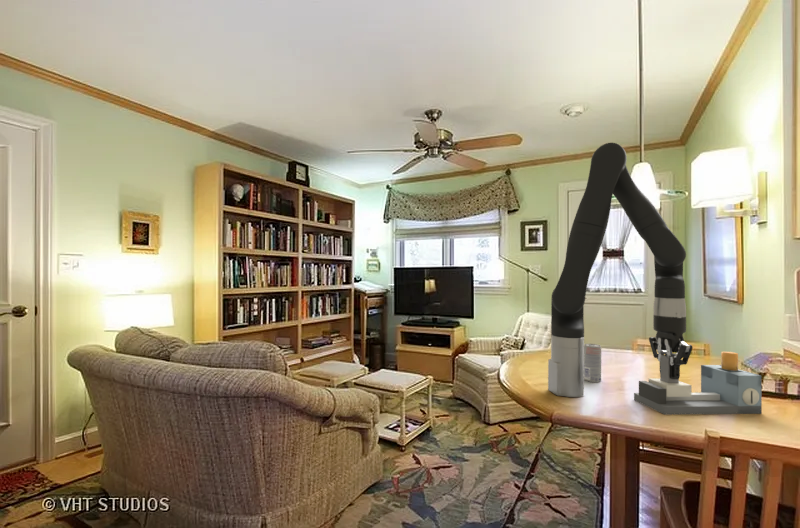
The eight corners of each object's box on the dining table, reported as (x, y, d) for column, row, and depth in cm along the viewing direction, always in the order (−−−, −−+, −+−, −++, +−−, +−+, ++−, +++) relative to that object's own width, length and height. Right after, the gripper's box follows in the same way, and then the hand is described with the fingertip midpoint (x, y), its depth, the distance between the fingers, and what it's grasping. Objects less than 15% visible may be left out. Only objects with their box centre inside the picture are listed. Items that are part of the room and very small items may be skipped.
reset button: (729, 370, 110) (729, 354, 110) (718, 367, 114) (718, 351, 114) (741, 370, 110) (741, 354, 110) (729, 367, 114) (729, 351, 114)
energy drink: (597, 378, 139) (597, 343, 140) (603, 382, 134) (603, 346, 134) (581, 378, 140) (581, 343, 140) (587, 382, 134) (587, 346, 135)
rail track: (665, 415, 103) (666, 376, 104) (634, 399, 116) (634, 365, 116) (763, 414, 105) (763, 376, 106) (721, 399, 118) (721, 365, 118)
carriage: (666, 396, 107) (666, 358, 107) (648, 389, 114) (648, 353, 114) (691, 396, 107) (691, 358, 108) (671, 389, 114) (672, 353, 114)
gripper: (639, 311, 118) (639, 371, 117) (675, 317, 104) (675, 384, 103) (663, 312, 118) (663, 371, 118) (703, 317, 104) (703, 384, 104)
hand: (669, 376), depth 111 cm, fingers closed on carriage, 3 cm apart
